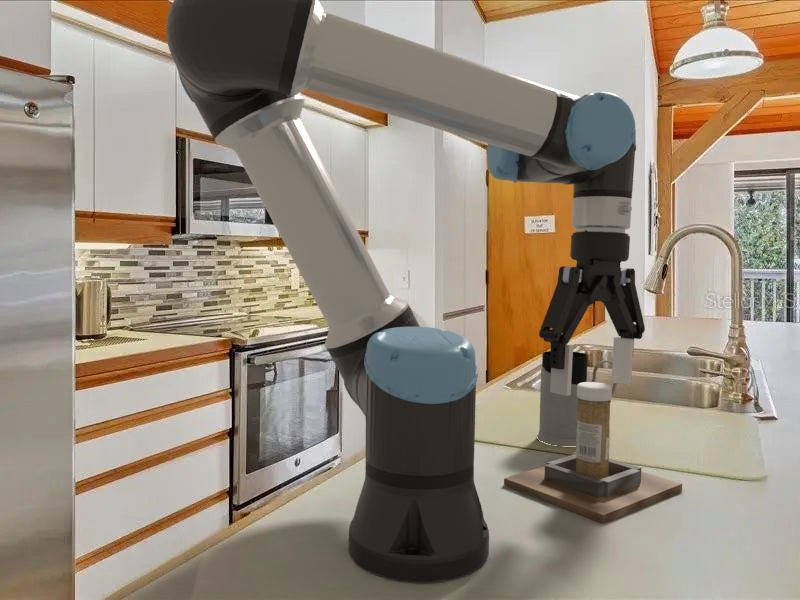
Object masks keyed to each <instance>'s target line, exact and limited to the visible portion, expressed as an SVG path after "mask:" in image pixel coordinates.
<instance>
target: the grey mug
mask: <svg viewBox="0 0 800 600" xmlns="http://www.w3.org/2000/svg"><path fill="white" fill-rule="evenodd" d="M550 351H551V350H548V351H544V352H542V355H541V356H542V358H541V360H542V361H541V369H540V395H539V399H540V402H539V432H538V434H537V436H536V438H537V437H538V439H539V440H540V441H543V442H545V443H548V444H551V445H557V446H576V437H577V417H578V400H577V399H578V397H577V385H578V384H579V383H582V382H588V380H587V379H588V354H587V353H584V352H579V351H573V358H572V378H571V395H569V396H565V395H561V394H556V393H552V392H550V383H551V367H550V357H551V356H550ZM604 363H608V364H610V365H612V361H611V360H607V359H604V360H600V361H599V362H597V363H596V365H595V366H594V368H593V370H592V380H591V382H596V379H597V371H598V369H599V367H600V366H601V365H602V364H604ZM617 385H618V384H617V383H612V386H611V387H612V397H613V396H614V394H615V391H616V388H617Z"/></svg>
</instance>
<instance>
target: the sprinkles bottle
mask: <svg viewBox="0 0 800 600" xmlns="http://www.w3.org/2000/svg"><path fill="white" fill-rule="evenodd" d="M612 387H613V386H612V385H610V384H608V383H605V382H596V381H595V382H592V381H587V382H582V383H579V384H578V385H577V397H578V399H577V400H578V417H577V437H576V447H575V454H576V472H578V473H581V474H584V475H587V476H590V477H593V478H596V479H599V480H600V479H603V478H606V477H608V463H609V459H610V444H611V443H610V442H611V441H610V439H611V438H610V435H611V434H610V431H611V429H610V428H611V427H610V421H611V420H610V419H611V418H610V416H611V402H612V399H613V396H612Z"/></svg>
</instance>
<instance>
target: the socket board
mask: <svg viewBox="0 0 800 600" xmlns="http://www.w3.org/2000/svg"><path fill="white" fill-rule="evenodd" d="M503 486H505V487H508V488H509V489H513V490H516V491H518V492H521V493H524V494H525V495H529V496H531V497H534V498H537V499H538V500H541V501H544V502H547V503H549V504H552V505H554V506H557V507H560V508H563V509H565V510H567V511H569V512H570V511H571V513H575V514H579V515H580V516H582V517H586V518H588V519H590V520H593V521H597V522H598V523H601V524H605V523H607V522H610V521H612V520H615V519H618V518H619V517H622V516H624V515H628V514H629V513H631V512H635V511H637V510H639V509H641V508H643V507H647V506H648V505H651V504H653V503H656V502H659V501H660V500H661V501H662V500H663V499H666V498H667V497H670V496H673V495H675V494H678V493H680V492H682V491H683V483H681V482H677V481H675V480H671V479H669V478H665V477H661V476H658V475H654V474H652V473H648V472H644V471H642V467H640V466H636V465H632V464H630V463H629V464H628V463H626V462H622V461H619V460H616V459H612V458H609V463H608V477H606V478H603V479H600V480H599V479H596V478H593V477H590V476H587V475H584V474H581V473H578V472H576V453H575V454H572V455H567V456H565V457H562V458H561V457H560V458H558V459H557V458H556V459H555V460H551V461H547V462H546V464H545V465H544V466H541V467H537V468H533V469H531V470H527V471H523V472H520V473H517V474H513V475H509V476H506V477H504V478H503Z"/></svg>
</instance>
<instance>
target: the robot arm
mask: <svg viewBox="0 0 800 600" xmlns="http://www.w3.org/2000/svg"><path fill="white" fill-rule="evenodd" d="M165 31H166V41H167V46H168V49H169V52H170V56H171V58H172V60H173V62H174V64H175V66H176V70H177V73H178V77H179V80H180V82H181V85H182V87H183V89H184V91H185V93H186V95H187V96H188V98H189V99H190V101H191V102H192V103H194V105H195V107H196V109H197V110H198V112H199V114H200V117H201V118H202V121H203V122H204V123H205V125H206V127H207V129H208V130H209V132H210V134H211V136H212V138H213V140H214V141H215V143H216V145H219V146H222V147H224V148H227V149H231V150H232V151H233V152H235V154H236V155H237V157H238V158H239V161H240V163H241V165H242V167H243V168H244V171H245V172H246V174H247V176H248V178H249V180H250V181H251V183H252V185H253V187H254V189H255V191H256V192H257V194H258V196H259V198H260V200H261V202H262V204H263V205H264V208H265V210H266V211H267V213H268V215H269V217H270V219H271V220H272V223H273V225H274V226H275V229H276V230H277V232H278V234H279V236H280V238H281V239H282V242H283V243H284V245H285V247H286V249H287V250H288V253H289V254H290V257H291V258H292V260H293V262H294V264H295V265H296V267H297V269H298V272H299V273H300V275H301V277H302V279H303V281H304V283H305V284H306V286H307V288H308V290H309V292H310V294H311V295H312V297H313V299H314V301H315V303H316V305H317V307H318V309H319V311H320V312H321V314H322V317H323V318H324V320H325V321H326V323H327V326H328V332H327V337H326V338H325V343H324V345H325V348H326V350H327V351H328V353H329V356H330V357H331V359H332V360H333V363H334V364H335V367H336V368H337V370H338V372H339V374H340V376H341V378H342V380H343V385H344V388H345V390H346V392H347V394H348V395H349V397H350V399H351V400H352V401H353V402H354V403H355V404H356V406H358V408H359V409H360V410H361V412H362V414H363V415H364V416H365V418H364V419H365V476H364V482H363V484H362V488H361V491H360V494H359V497H358V501H357V503H356V507H355V511H354V514H353V518H352V520H351V522H350V524H349V528H348V554H349V556H350V558H351V560H353V562H354V563H355V564H357V566H359V567H360V568H362V569H363V570H364V571H366V572H367V571H368V572H370V573H371V574H374V575H377V576H380V577H382V578H386V579H391V580H397V581H402V582H403V581H404V582H413V583H431V582H432V583H433V582H442V581H448V580H453V579H457V578H460V577H465V576H466V575H469V574H471V573H473V572H475V571H477V570H478V569H479V568H481V567H482V566H483V565H484V564H485V563H486V562H487V560H488V557H489V555H490V554H489V553H490V533H489V532H490V531H489V527H488V524H487V521H486V520H485V518H484V513H483V508H482V505H481V501H480V497H479V493H478V491H477V488H476V484H475V474H474V473H475V469H474V468H475V441H476V440H475V438H476V435H475V434H476V400H477V399H476V397H477V395H476V393H477V392H476V391H477V381H478V375H479V373H478V366H477V365H476V364H477V363H476V352H475V351H476V350H475V348H474V345H473V344H472V343H471V341H470V340H469V339H468V338H466V337H465V336H463V335H461V334H459V333H457V332H453V331H450V330H442V329H441V328H436V327H429V326H420V324H419V322H418V320H417V318H416V316H415V314H414V312H413V311H412V308H411V307H410V304H409V303H408V301H407V300H404V299H401V298H399V297H394V296H393V295H391V294H390V292H389V290H388V288H387V286H386V283H385V282H384V280H383V278H382V276H381V274H380V272H379V270H378V269H377V267H376V265H375V262H374V261H373V258H372V257H371V254H370V253H369V251H368V249H367V247H366V245H365V243H364V241H363V239H362V237H361V235H360V233H359V231H358V230H357V228H356V225H355V223H354V222H353V219H352V217H351V216H350V213H349V212H348V209H347V208H346V206H345V204H344V202H343V200H342V198H341V196H340V194H339V192H338V191H337V188H336V186H335V184H334V182H333V181H332V179H331V176H330V175H329V173H328V170H327V169H326V167H325V165H324V163H323V161H322V159H321V156H320V155H319V152H318V151H317V149H316V147H315V146H314V143H313V142H312V140H311V138H310V136H309V134H308V132H307V130H306V127H305V126H304V124H303V122H302V120H301V114H302V110H303V107H304V104H305V101H306V100H305V98H304V95H303V94H302V92H304V91H311V92H313V93H317V94H321V95H324V96H326V97H330V98H334V99H337V100H341V101H344V102H346V103H349V104H354V105H357V106H361V107H364V108H368V109H371V110H374V111H376V112H377V111H378V112H381V113H384V114H387V115H391V116H394V117H398V118H401V119H404V120H408V121H410V122H414V123H417V124H420V125H424V126H426V127H431V128H434V129H438V130H441V131H442V132H443V131H444V132H447V133H450V134H454V135H457V136H461V137H463V138H467V139H470V140H474V141H477V142H481V143H483V144H487V148H486V163H487V167H488V171H489V173H490V175H491V176H492V177H493V178H494V179H496V180H500V181H508V182H509V181H510V182H513V183H517V182H518V183H519V182H521V183H540V184H541V183H542V184H545V183H546V184H563V185H572V186H573V187H572V188H573V195H572V196H573V197H572V212H571V228H573V229H575V232H572V234H571V237H570V254H569V255H570V258H571V259H572V260H573V261H576V265H575V266H559V268H558V275H557V283H556V286H555V289H554V291H553V294H552V297H551V299H550V302H549V306H548V307H547V311H546V313H545V316H544V317H543V321H542V324H541V326H540V329H539V331H538V336H539V338H540V339H543V341H544V342H545V343H546V342H547V343H550V344H549V345H550V350H549V351H550V356H551V357H550V367H551V383H550V392H552V393H556V394H561V395H565V396H569V395H571V378H572V358H573V352H574V344H570V343H569V342H570V340H571V338H572V337H573V335H574V334H575V332H576V330H577V328H578V326H579V324H580V323H581V321H582V319H583V317H584V315H585V313H586V312H587V310H588V309H589V307H590V306H591V305H593V304H594V303H595V302H601V303H603V305H604V307H605V309H606V311H607V313H608V316H609V318H610V320H611V322H612V325H613V326H614V329H615V331H616V333H617V335H618V336H616V337H615V336H613V347H612V348H613V349H612V361H611V362H612V364H611V380H610V381H611V383H612V384H614V383H617V385H618V384H619V385H622V386H632V378H633V377H632V376H633V375H632V374H633V362H634V361H633V359H634V350H635V339H636V340H640V339H642V338H643V334H644V333H645V331H646V326H645V321H644V317H643V313H642V309H641V303H640V300H639V299H640V298H639V295H638V292H637V287H636V269H635V268H630V267H621V263H622V262H627V261H628V260H629V258H630V244H631V243H630V242H631V241H630V240H631V236H630V235H629V233H626V230H630V228H631V218H632V217H631V216H632V210H633V207H632V199H633V189H634V188H633V186H634V172H635V171H634V170H635V160H636V159H635V157H636V156H635V155H636V151H637V140H636V137H637V135H636V134H637V133H636V132H637V130H636V120H635V117H634V114H633V112H632V109H631V107H630V106H629V105H628V103H627V102H626V101H625V100H624V99H623V98H622V97H620V96H619V95H617V94H615V93H611V92H607V91H601V92H595V93H593V92H592V93H591V92H589V93H588V94H584V95H582V96H578V95H575V94H572V93H568V92H565V91H562V90H559V89H555V88H552V87H549V86H547V85H546V86H545V85H543V84H540V83H537V82H534V81H531V80H528V79H525V78H522V77H519V76H517V75H513V74H510V73H507V72H505V71H501V70H498V69H495V68H492V67H489V66H486V65H484V64H480V63H479V62H478V63H477V62H474V61H472V60H469V59H466V58H462V57H459V56H456V55H453V54H451V53H448V52H445V51H443V50H440V49H439V50H438V49H436V48H434V47H430V46H427V45H424V44H421V43H419V42H415V41H413V40H409V39H406V38H404V37H401V36H397V35H394V34H391V33H389V32H385V31H383V30H379V29H376V28H375V27H370V26H368V25H364V24H362V23H359V22H357V21H356V22H355V21H353V20H351V19H350V20H349V19H346V18H344V17H341V16H338V15H335V14H333V13H328V12H326V11H325V9H324V8H323V6H322V5H321V3H320V1H319V0H173V1H172V3H171V5H170V7H169V10H168V14H167V18H166V28H165Z"/></svg>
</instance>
